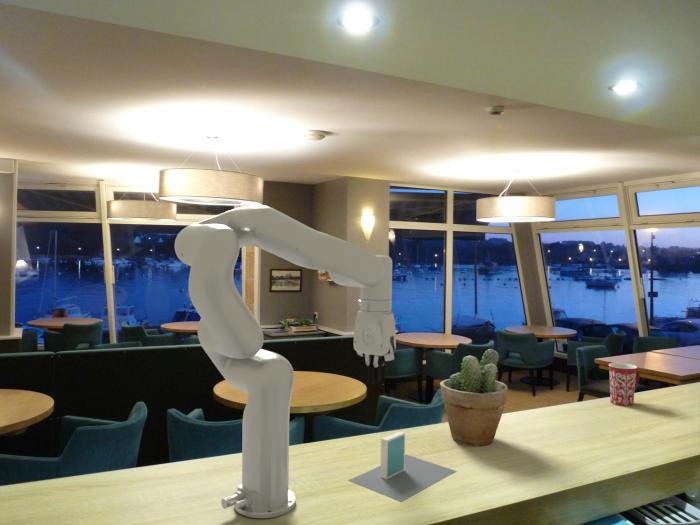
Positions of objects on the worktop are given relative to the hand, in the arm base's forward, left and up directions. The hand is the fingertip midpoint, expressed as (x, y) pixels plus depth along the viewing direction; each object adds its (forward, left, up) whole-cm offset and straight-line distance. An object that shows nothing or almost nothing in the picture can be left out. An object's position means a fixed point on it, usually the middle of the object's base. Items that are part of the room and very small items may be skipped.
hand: (374, 381), depth 132 cm
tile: (0, -6, -21) cm, 21 cm away
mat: (+1, -8, -21) cm, 23 cm away
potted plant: (+35, -7, -21) cm, 41 cm away
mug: (+107, -27, -21) cm, 112 cm away
